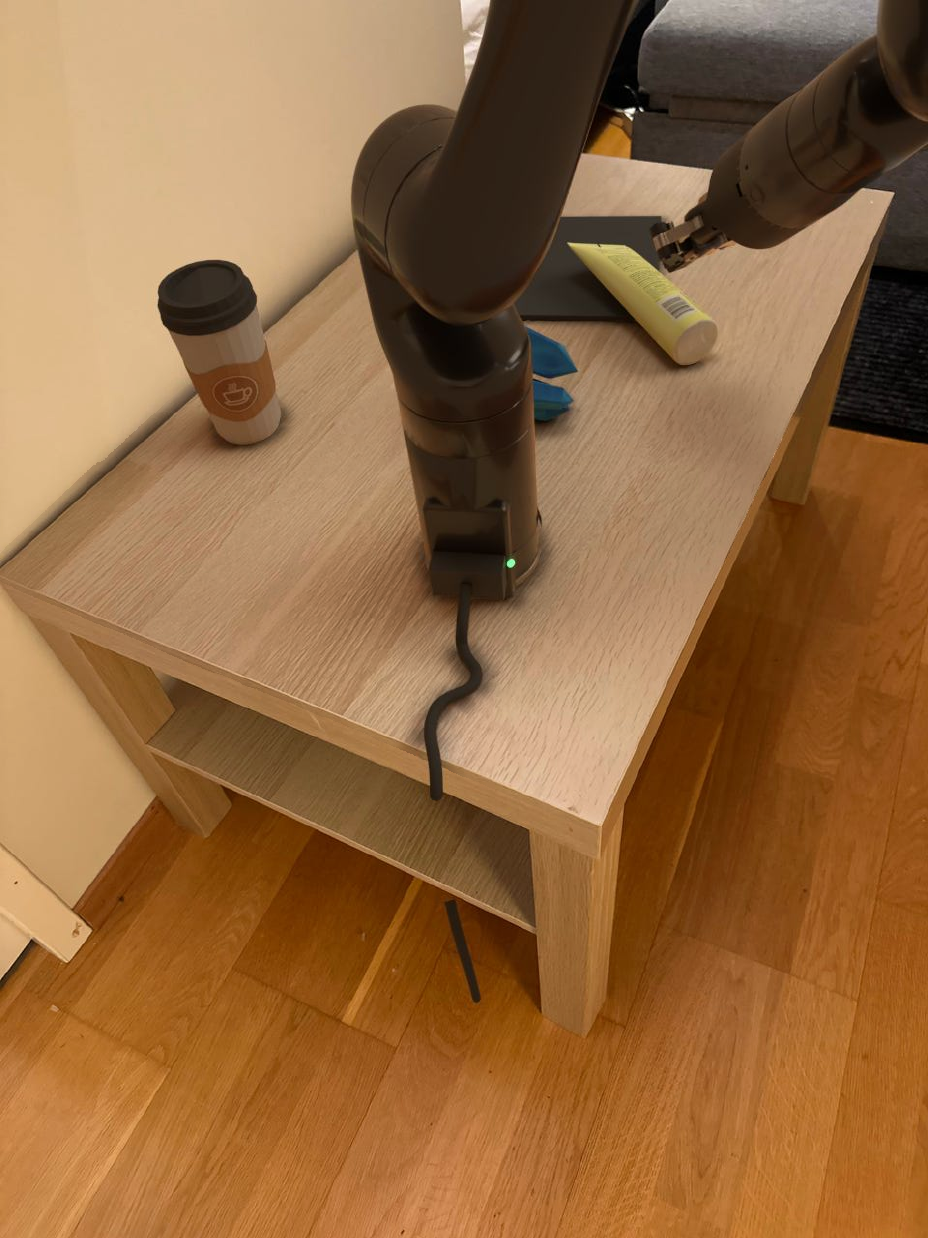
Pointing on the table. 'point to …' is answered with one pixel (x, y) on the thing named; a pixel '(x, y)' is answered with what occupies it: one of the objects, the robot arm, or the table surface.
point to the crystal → (549, 376)
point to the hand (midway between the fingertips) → (670, 259)
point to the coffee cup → (222, 347)
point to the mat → (584, 270)
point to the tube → (652, 301)
